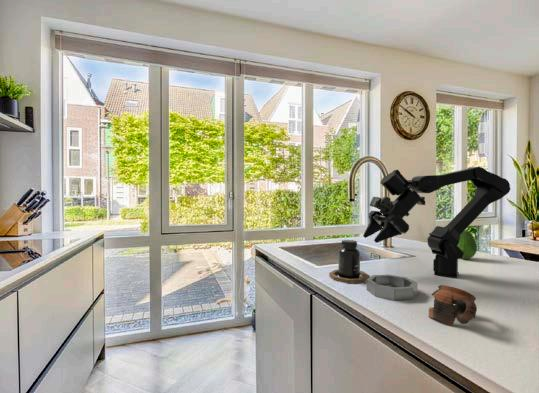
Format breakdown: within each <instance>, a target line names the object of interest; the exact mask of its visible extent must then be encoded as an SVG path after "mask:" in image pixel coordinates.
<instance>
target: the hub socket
mask: <svg viewBox="0 0 539 393" xmlns="http://www.w3.org/2000/svg"><path fill="white" fill-rule="evenodd" d="M366 291H367V292H369V293H370V294H372V295H373V296H374V297H377V298H381V299H387V300H392V301H406V300H408V301H409V300H414V299H415V297H416V296H417V295H418V282H417V281H415V280H413V279H410V278H408V277H405V276H400V275H393V274H373V275H370V277H369V278H368V279H367V281H366Z"/></svg>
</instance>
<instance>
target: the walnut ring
mask: <svg viewBox="0 0 539 393" xmlns="http://www.w3.org/2000/svg"><path fill="white" fill-rule="evenodd" d="M328 274H329V275H328V277H329V278H331V279H332V281H335V282H341V283H345V284H363V283H367V279H368V278H369V277H371V275H370V274H368V273H366V272H365V271H362V270H360V277H359V278H358V279H347V278H341V277H339V276H338V275H339V274H338V269H334V270H332V271H330V272H329V273H328Z"/></svg>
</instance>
